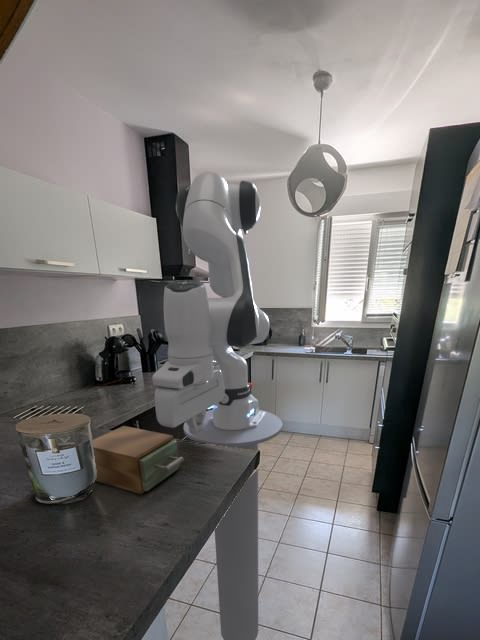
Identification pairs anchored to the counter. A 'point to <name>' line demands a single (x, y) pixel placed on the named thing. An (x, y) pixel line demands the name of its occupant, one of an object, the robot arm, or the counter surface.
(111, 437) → the cabinet
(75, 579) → the counter surface
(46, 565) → the counter surface
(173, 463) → the drawer
